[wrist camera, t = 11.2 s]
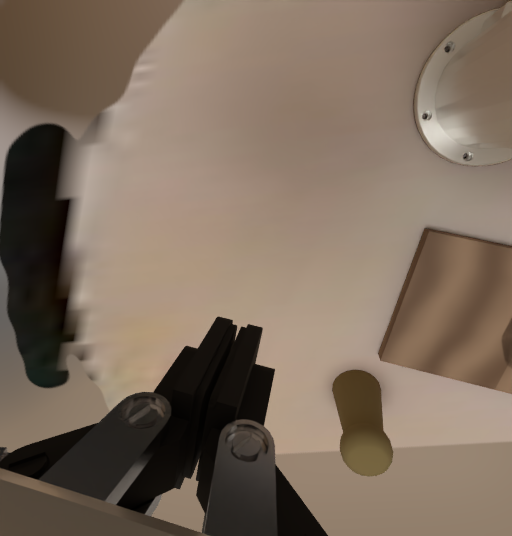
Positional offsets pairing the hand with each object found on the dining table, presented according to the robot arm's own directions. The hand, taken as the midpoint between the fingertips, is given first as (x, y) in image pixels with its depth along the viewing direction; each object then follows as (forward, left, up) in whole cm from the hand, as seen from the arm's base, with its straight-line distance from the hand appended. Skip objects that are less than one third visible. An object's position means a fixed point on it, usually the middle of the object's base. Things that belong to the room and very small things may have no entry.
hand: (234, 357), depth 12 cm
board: (+6, +26, -27) cm, 38 cm away
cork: (+20, +13, -27) cm, 36 cm away
